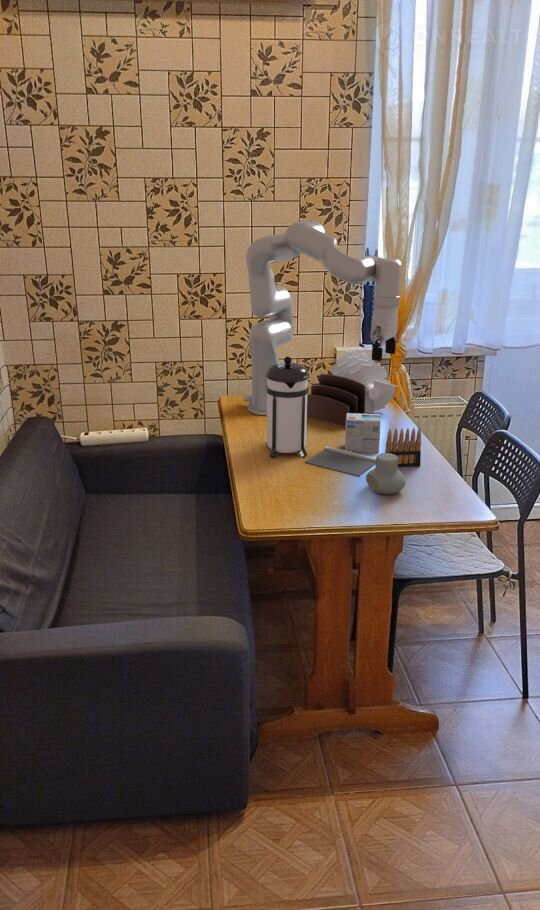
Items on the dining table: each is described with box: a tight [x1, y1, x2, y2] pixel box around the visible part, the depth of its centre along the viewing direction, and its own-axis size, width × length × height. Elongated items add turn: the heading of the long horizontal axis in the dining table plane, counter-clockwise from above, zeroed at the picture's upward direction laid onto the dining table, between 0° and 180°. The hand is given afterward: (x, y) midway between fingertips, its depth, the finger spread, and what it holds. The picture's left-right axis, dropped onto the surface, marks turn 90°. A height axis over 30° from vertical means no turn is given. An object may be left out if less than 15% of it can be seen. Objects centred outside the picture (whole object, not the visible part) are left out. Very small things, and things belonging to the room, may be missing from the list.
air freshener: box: [365, 452, 406, 495], centre depth 209 cm, size 11×8×10 cm
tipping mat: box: [304, 445, 376, 477], centre depth 229 cm, size 18×13×1 cm
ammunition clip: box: [384, 427, 422, 469], centre depth 224 cm, size 11×2×12 cm, turn 97°
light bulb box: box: [344, 413, 381, 454], centre depth 237 cm, size 11×7×11 cm, turn 84°
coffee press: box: [265, 356, 310, 459], centre depth 232 cm, size 17×16×30 cm
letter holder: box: [307, 373, 366, 428], centre depth 262 cm, size 10×20×14 cm, turn 49°
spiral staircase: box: [330, 348, 398, 414], centre depth 275 cm, size 18×18×25 cm
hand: (383, 356), depth 237 cm, fingers open, 9 cm apart
